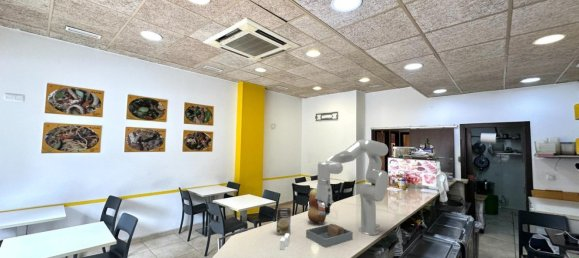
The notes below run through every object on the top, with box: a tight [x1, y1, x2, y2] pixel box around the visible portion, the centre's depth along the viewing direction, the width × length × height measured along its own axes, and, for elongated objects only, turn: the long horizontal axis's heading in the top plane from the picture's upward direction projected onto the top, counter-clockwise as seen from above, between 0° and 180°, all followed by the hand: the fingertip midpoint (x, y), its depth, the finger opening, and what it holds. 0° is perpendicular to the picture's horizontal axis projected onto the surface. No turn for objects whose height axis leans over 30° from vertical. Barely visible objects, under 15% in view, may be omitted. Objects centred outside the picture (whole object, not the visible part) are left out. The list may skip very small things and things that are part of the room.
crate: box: [305, 223, 354, 249], centre depth 150 cm, size 22×18×5 cm
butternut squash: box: [307, 188, 327, 225], centre depth 180 cm, size 14×13×25 cm
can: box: [318, 201, 330, 216], centre depth 148 cm, size 6×6×7 cm
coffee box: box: [276, 207, 292, 236], centre depth 159 cm, size 9×6×16 cm
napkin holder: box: [279, 232, 291, 251], centre depth 140 cm, size 15×11×6 cm
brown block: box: [328, 223, 345, 237], centre depth 153 cm, size 6×8×6 cm
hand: (323, 211), depth 148 cm, fingers closed on can, 6 cm apart
